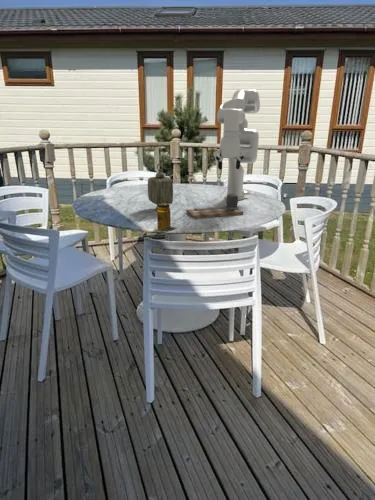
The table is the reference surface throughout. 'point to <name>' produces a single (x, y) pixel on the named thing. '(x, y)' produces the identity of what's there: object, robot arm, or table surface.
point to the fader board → (212, 212)
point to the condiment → (164, 217)
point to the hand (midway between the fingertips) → (228, 169)
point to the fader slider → (232, 202)
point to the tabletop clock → (160, 188)
